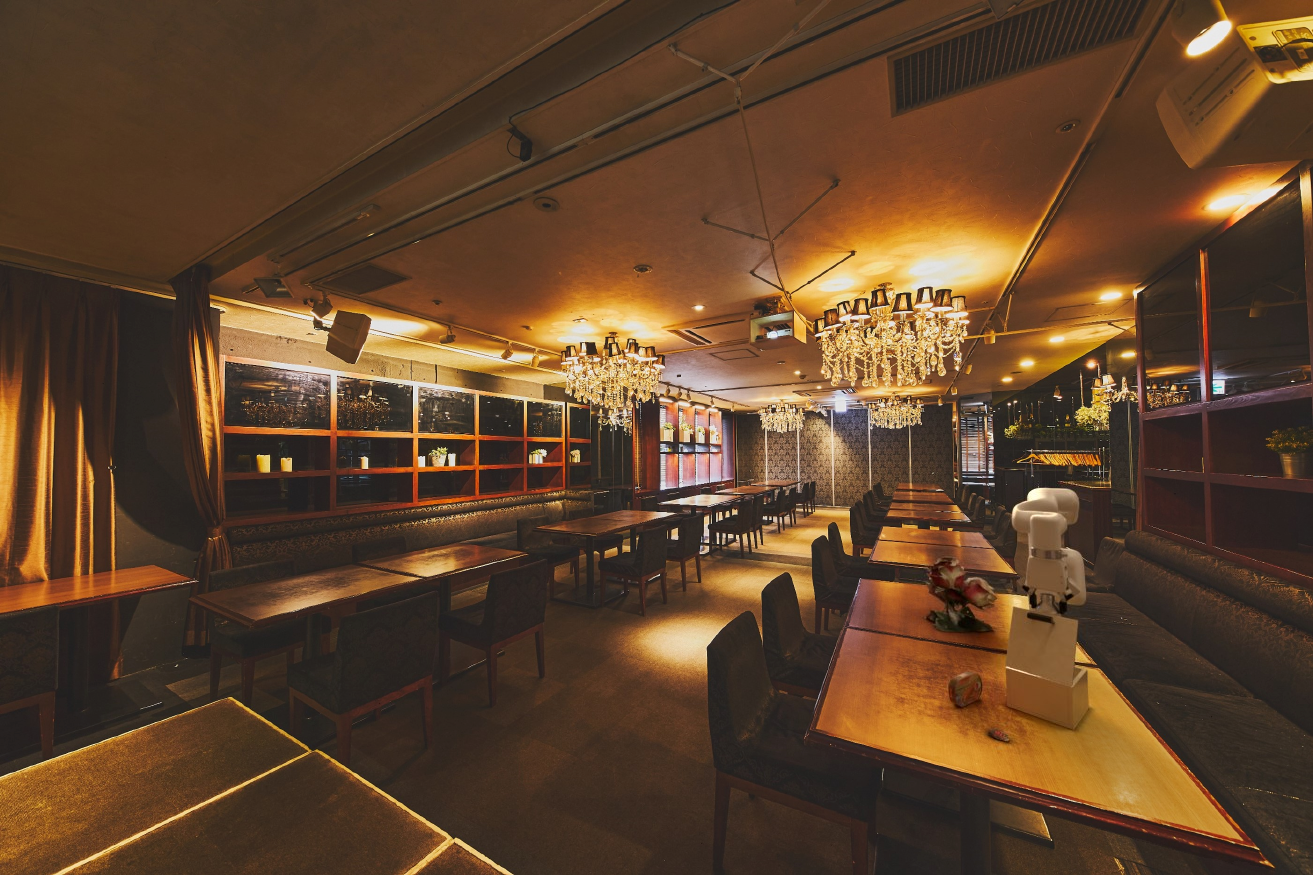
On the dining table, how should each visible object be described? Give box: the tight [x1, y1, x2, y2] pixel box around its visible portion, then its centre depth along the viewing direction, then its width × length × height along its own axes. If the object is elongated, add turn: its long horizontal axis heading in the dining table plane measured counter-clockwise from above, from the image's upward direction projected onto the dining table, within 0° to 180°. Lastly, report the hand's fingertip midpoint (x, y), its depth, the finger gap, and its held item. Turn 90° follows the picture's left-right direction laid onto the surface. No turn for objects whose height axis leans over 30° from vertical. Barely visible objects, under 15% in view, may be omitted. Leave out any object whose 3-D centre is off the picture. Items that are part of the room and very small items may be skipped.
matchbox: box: [987, 727, 1010, 742], centre depth 132 cm, size 5×5×1 cm
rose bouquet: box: [923, 555, 998, 633], centre depth 218 cm, size 26×29×30 cm
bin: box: [1005, 665, 1090, 731], centre depth 146 cm, size 18×16×12 cm
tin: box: [947, 670, 984, 708], centre depth 150 cm, size 15×3×8 cm, turn 117°
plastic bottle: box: [1035, 593, 1062, 617], centre depth 149 cm, size 6×7×20 cm
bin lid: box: [1005, 606, 1079, 686], centre depth 142 cm, size 19×16×5 cm
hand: (1048, 609), depth 149 cm, fingers closed on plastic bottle, 6 cm apart
